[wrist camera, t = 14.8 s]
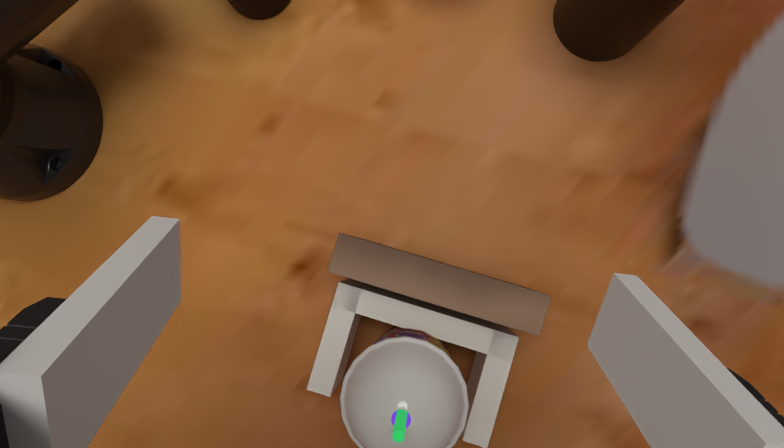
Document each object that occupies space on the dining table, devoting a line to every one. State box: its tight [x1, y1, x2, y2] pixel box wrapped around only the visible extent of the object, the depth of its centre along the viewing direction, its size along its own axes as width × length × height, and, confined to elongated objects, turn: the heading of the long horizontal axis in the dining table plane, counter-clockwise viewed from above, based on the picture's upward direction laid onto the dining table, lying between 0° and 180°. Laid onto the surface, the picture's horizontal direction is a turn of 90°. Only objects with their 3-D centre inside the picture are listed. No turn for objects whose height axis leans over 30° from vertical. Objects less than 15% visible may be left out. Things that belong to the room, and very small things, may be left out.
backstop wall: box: [328, 233, 551, 336], centre depth 42 cm, size 3×16×10 cm, turn 73°
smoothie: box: [340, 326, 469, 448], centre depth 37 cm, size 8×8×20 cm
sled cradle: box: [307, 279, 519, 448], centre depth 43 cm, size 9×15×6 cm, turn 73°
